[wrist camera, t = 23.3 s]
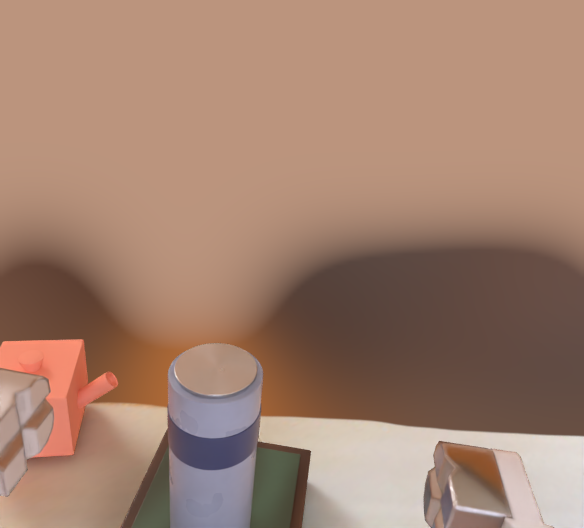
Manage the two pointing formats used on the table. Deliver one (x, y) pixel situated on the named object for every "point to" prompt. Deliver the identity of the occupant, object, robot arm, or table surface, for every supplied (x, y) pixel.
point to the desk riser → (266, 491)
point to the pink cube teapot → (59, 384)
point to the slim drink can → (213, 436)
